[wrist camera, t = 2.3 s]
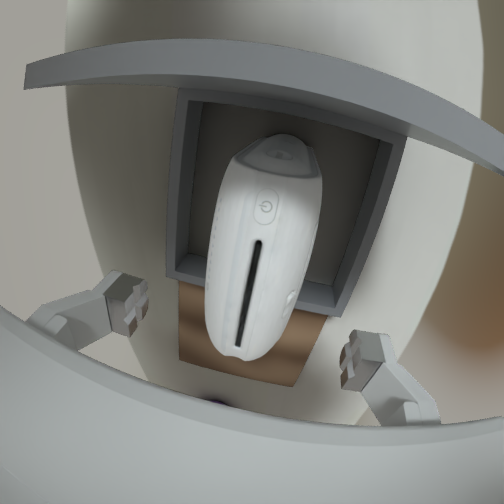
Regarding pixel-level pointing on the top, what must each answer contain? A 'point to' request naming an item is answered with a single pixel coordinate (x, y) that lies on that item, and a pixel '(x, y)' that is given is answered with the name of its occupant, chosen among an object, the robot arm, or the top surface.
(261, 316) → the photo printer
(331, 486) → the robot arm
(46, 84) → the equipment case
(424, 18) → the top surface
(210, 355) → the walnut board
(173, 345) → the top surface
